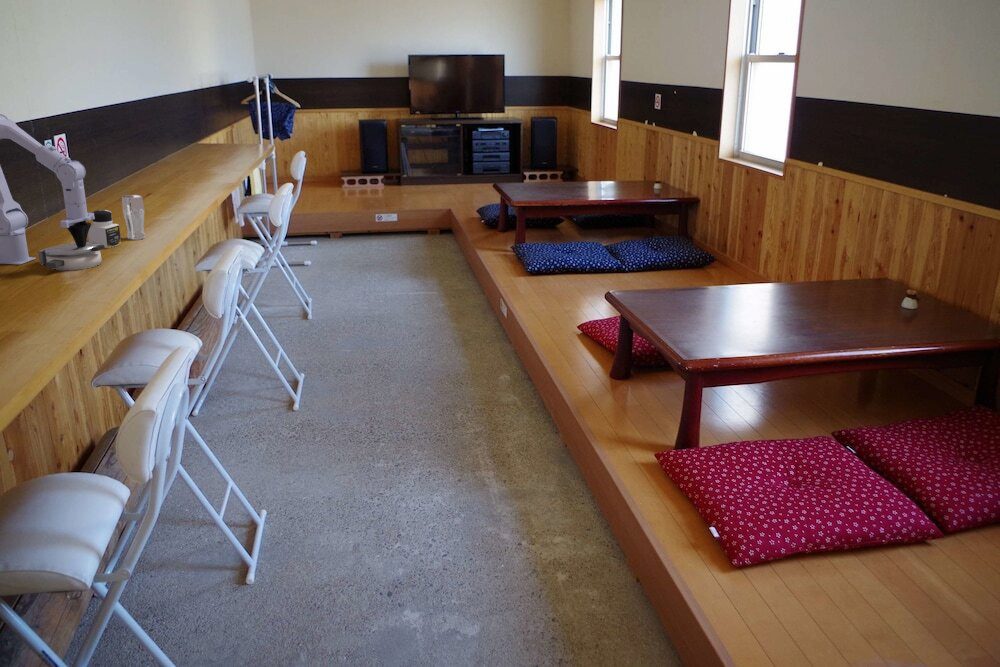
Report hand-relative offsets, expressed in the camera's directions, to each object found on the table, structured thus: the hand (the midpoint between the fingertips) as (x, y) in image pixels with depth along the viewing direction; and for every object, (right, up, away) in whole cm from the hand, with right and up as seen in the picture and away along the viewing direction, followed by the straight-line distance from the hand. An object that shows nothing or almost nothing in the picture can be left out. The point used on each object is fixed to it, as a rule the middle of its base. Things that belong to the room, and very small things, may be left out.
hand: (81, 246), depth 243 cm
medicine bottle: (-6, +3, +26) cm, 27 cm away
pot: (-3, -5, +2) cm, 6 cm away
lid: (-2, -1, +1) cm, 3 cm away
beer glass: (0, +7, +38) cm, 39 cm away
